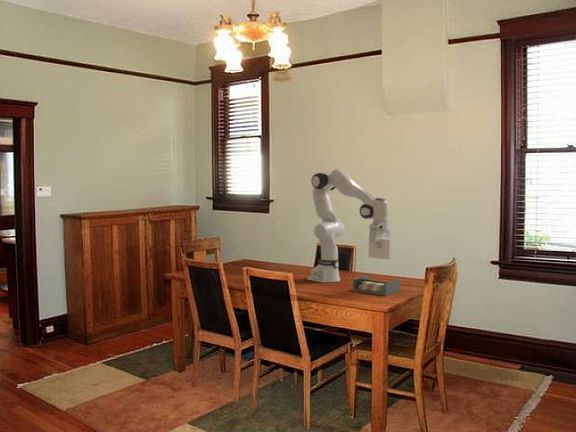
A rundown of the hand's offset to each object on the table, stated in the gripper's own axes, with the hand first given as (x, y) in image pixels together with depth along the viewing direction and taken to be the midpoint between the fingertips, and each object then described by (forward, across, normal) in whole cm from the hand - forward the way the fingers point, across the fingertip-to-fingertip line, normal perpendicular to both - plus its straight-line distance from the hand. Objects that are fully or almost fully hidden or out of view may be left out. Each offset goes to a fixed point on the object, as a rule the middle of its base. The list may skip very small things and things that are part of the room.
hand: (380, 248), depth 326 cm
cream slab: (+6, 0, 0) cm, 6 cm away
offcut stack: (+24, +9, 0) cm, 25 cm away
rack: (+26, +4, 0) cm, 26 cm away
